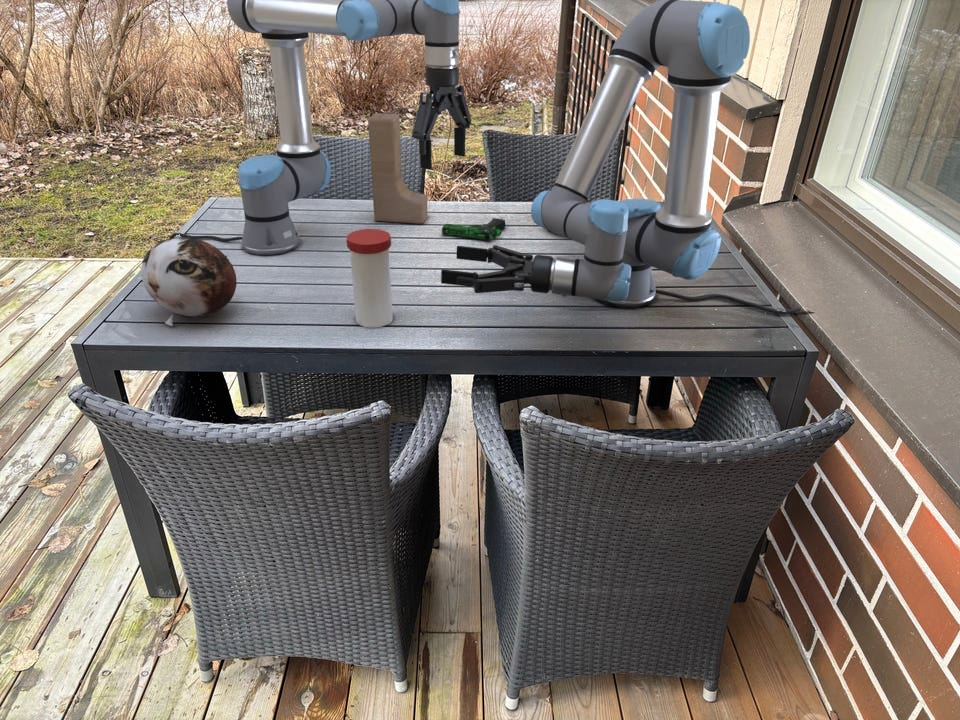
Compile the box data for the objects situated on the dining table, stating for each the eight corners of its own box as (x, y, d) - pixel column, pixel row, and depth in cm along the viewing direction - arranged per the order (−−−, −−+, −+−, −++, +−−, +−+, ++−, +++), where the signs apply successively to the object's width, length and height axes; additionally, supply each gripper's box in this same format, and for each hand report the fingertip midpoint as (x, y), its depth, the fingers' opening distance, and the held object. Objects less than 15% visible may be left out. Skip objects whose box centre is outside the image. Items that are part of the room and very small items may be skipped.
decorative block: (423, 224, 212) (420, 120, 197) (373, 221, 214) (367, 118, 199) (428, 216, 219) (425, 114, 203) (380, 213, 220) (374, 112, 205)
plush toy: (103, 301, 154) (138, 216, 155) (170, 324, 169) (201, 246, 171) (169, 326, 143) (206, 234, 145) (233, 348, 159) (266, 265, 160)
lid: (346, 254, 147) (345, 245, 146) (347, 238, 155) (346, 229, 154) (391, 253, 148) (391, 243, 147) (390, 237, 156) (390, 227, 155)
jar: (355, 328, 156) (348, 246, 146) (355, 311, 163) (349, 232, 154) (393, 326, 157) (389, 245, 147) (392, 309, 164) (388, 230, 155)
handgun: (511, 219, 210) (493, 234, 198) (511, 228, 211) (492, 244, 199) (461, 212, 215) (440, 226, 203) (461, 221, 217) (440, 236, 204)
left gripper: (421, 75, 148) (424, 176, 159) (486, 61, 166) (485, 153, 177) (393, 71, 151) (397, 171, 162) (460, 58, 169) (460, 148, 180)
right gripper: (543, 318, 135) (434, 305, 138) (556, 269, 156) (462, 259, 160) (546, 281, 131) (434, 269, 135) (560, 236, 153) (463, 226, 156)
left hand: (443, 161), depth 169 cm, fingers open, 13 cm apart
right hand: (449, 263), depth 147 cm, fingers open, 13 cm apart
